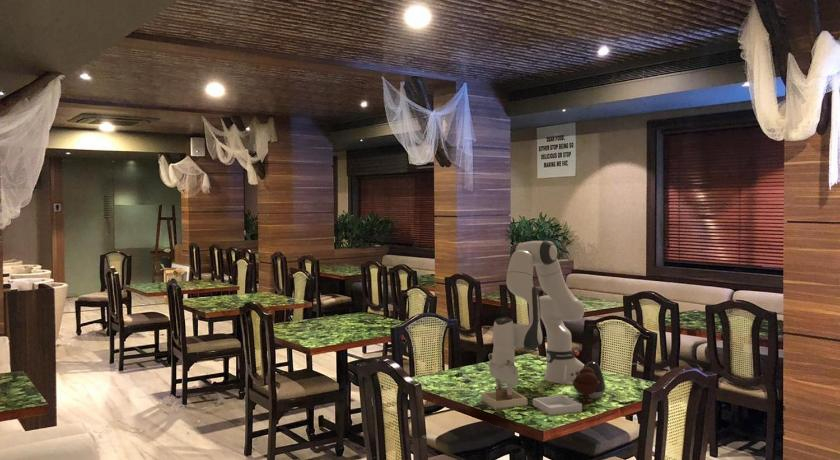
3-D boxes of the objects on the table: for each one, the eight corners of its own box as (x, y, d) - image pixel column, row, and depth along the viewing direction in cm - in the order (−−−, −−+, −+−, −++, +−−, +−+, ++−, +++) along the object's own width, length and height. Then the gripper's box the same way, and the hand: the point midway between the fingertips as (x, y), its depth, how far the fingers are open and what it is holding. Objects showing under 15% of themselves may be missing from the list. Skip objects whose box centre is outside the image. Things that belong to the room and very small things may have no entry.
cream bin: (512, 397, 288) (512, 389, 288) (527, 406, 275) (527, 398, 275) (481, 401, 284) (481, 392, 284) (495, 410, 271) (495, 401, 270)
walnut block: (506, 399, 283) (506, 387, 282) (512, 403, 278) (512, 390, 278) (495, 401, 281) (495, 389, 281) (501, 404, 276) (500, 392, 276)
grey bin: (563, 403, 279) (563, 395, 279) (582, 413, 266) (582, 404, 266) (533, 407, 275) (532, 398, 274) (550, 416, 261) (550, 407, 261)
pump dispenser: (574, 397, 289) (574, 361, 288) (590, 392, 295) (590, 357, 294) (594, 402, 281) (594, 365, 280) (610, 397, 287) (610, 361, 286)
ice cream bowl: (568, 401, 282) (568, 365, 282) (595, 400, 283) (594, 364, 283) (576, 408, 272) (576, 371, 271) (604, 407, 273) (604, 370, 272)
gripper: (522, 362, 270) (522, 397, 270) (500, 352, 289) (500, 385, 290) (507, 364, 268) (508, 399, 268) (486, 353, 287) (487, 386, 288)
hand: (504, 391), depth 279 cm, fingers open, 8 cm apart
